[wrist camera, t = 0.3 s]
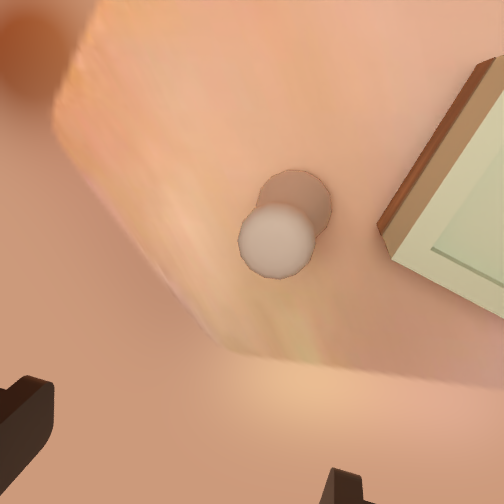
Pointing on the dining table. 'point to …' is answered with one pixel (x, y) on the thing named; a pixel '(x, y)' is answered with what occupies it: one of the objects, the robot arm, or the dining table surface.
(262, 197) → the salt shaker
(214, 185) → the dining table surface
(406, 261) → the top block
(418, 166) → the base block
